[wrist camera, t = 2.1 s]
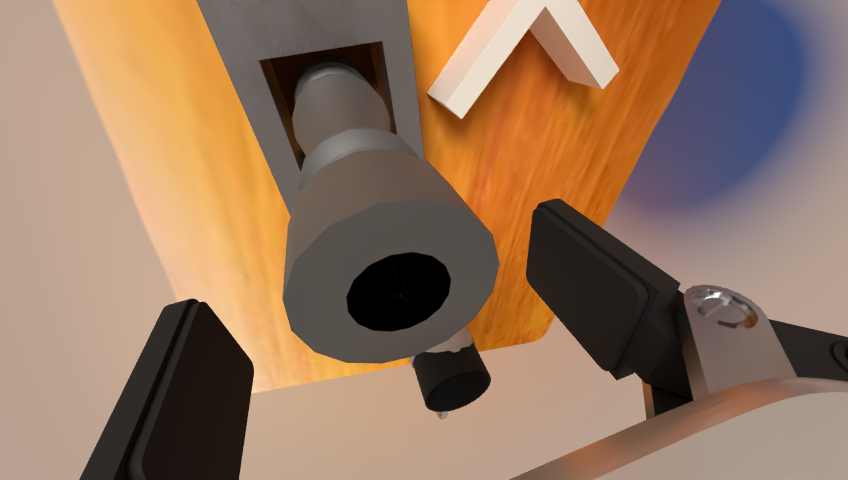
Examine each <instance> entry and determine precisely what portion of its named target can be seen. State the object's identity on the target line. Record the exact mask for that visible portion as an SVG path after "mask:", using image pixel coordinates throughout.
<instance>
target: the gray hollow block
mask: <svg viewBox="0 0 848 480" xmlns="http://www.w3.org/2000/svg"><path fill="white" fill-rule="evenodd" d="M196 1H197V3H198V5H199V7H200V10H201V12H202V14H203V17H204V19H205V21H206V23H207V26H208V28H209V30H210V33H211V35H212V37H213V39H214V42H215V44H216V46H217V49H218V51H219V53H220V55H221V58H222V60H223V62H224V65H225V67H226V69H227V72H228V74H229V76H230V78H231V81H232V83H233V85H234V88H235V90H236V92H237V94H238V97H239V99H240V101H241V104H242V106H243V108H244V110H245V113H246V115H247V117H248V120H249V122H250V124H251V126H252V129H253V131H254V133H255V136H256V138H257V140H258V143H259V145H260V147H261V149H262V152H263V154H264V156H265V159H266V161H267V163H268V165H269V168H270V170H271V172H272V175H273V177H274V179H275V181H276V184H277V186H278V188H279V191H280V193H281V195H282V197H283V200H284V202H285V204H286V207H287V209H288V211H289V213H290V216H291V214H292V211H293V207H294V204H295V200H296V197H297V194H298V193H299V190H298V181H299V177H300V174H301V170H302V167H303V163H304V160H305V157H306V155H305V154H304V152H303V150H302V149H301V147H300V145H299V144H298V142H297V141H296V139H295V133H294V128H293V122H292V119H291V117H290V114H289V111H288V108H287V105H286V103H285V100H284V97H283V94H282V91H281V88H280V86H279V83H278V80H277V77H276V74H275V72H274V69H273V66H272V63H271V60H270V58H276V57H283V56H289V55H296V54H302V53H308V52H315V51H321V50H327V49H334V48H340V47H346V46H353V45H359V44H366V43H370V48H371V53H372V59H373V64H374V70H375V76H376V81H377V87H378V92H379V95H380V97H381V98H382V99H383V100H384V103H385V106H386V108H387V111H388V113H389V116H390V132H391V133H393V134H396V135H398V136H400V137H401V138H402V139H403V140H404V141H405V142H406V143H407V144H408V145H409V146H410V147H411V148H412V149H413V150H414V151H415V152H416V154H417V155H418V157H419V158H420V159H422V160H424V151H423V142H422V133H421V124H420V115H419V106H418V97H417V88H416V79H415V70H414V61H413V52H412V43H411V34H410V25H409V16H408V7H407V0H196Z"/></svg>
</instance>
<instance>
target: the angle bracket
mask: <svg viewBox="0 0 848 480" xmlns="http://www.w3.org/2000/svg"><path fill="white" fill-rule="evenodd" d="M528 29H529V30H530V31H531V32H532V34H533V35H534V36H535V38H536V39H537V40H538V42H539V43H540V44H541V46H542V47H543V48H544V50H545V51H546V52H547V54H548V55H549V56H550V57H551V59H552V60H553V61H554V63H555V64H556V65H557V67H558V68H559V69H560V71H561V72H562V73H563V75H564V76H565V77H566V78H567V80H568V81H572V82H576V83H579V84H583V85H587V86H591V87H595V88H598V89H602V90H603V89H604V88H605V86H606V85H607V84H608V83H609V82H610V81H611V80H612V78H613V77H614V76H615V75H616V74H617V73H618V72H619V68H618V67H617V65H616V63H615V62H614V60H613V58H612V57H611V55H610V53H609V52H608V50H607V49H606V47H605V45H604V44H603V42H602V40H601V39H600V37H599V35H598V34H597V32H596V30H595V29H594V27H593V25H592V24H591V22H590V20H589V19H588V17H587V15H586V14H585V12H584V11H583V9H582V7H581V6H580V4H579V2H578V1H577V0H489V2H488V3H487V5H486V6H485V8H484V9H483V11H482V12H481V14H480V15H479V17H478V18H477V20H476V21H475V23H474V24H473V25H472V27H471V28H470V30H469V31H468V33H467V34H466V36H465V37H464V39H463V40H462V42H461V43H460V45H459V46H458V48H457V49H456V51H455V52H454V53H453V55H452V56H451V58H450V59H449V61H448V62H447V64H446V65H445V67H444V68H443V70H442V71H441V73H440V74H439V76H438V77H437V79H436V80H435V81H434V83H433V84H432V86H431V87H430V89H429V90H428V92H427V94H429V95H430V96H431V97H432V98H433V99H435V100H436V101H437V102H438V103H439V104H440V105H442V106H443V107H444V108H446V109H447V110H449V111H450V112H452V113H453V114H455V115H456V116H458V117H459V118H460V119H462V118H463V117H464V115H465V114H466V113H467V111H468V110H469V109H470V107H471V106H472V105H473V103H474V102H475V101H476V99H477V98H478V96H479V95H480V94H481V92H482V91H483V90H484V88H485V87H486V86H487V84H488V83H489V82H490V80H491V79H492V78H493V76H494V75H495V73H496V72H497V71H498V69H499V68H500V67H501V65H502V64H503V63H504V61H505V60H506V59H507V57H508V56H509V55H510V53H511V52H512V50H513V49H514V48H515V46H516V45H517V44H518V42H519V41H520V40H521V38H522V37H523V36H524V34H525V33H526V31H527V30H528Z"/></svg>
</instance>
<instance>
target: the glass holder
mask: <svg viewBox="0 0 848 480" xmlns="http://www.w3.org/2000/svg"><path fill="white" fill-rule="evenodd" d="M409 358H410V361H411V365H412V367H413V368H414V369H415V372H416V375H417V379H418V382H419V385H420V388H421V392H422V395H423V398H424V401H425V404H426V407H427V408H428V409H430V410H432V411H435V412H436V414H437V415H438V417H439V418H440V419H444V418H446V417H447V415H448V411H451V410H455V409H458V408H461V407H463V406H466V405H467V404H470V403H471V402H473V401H474V400H476V399H477V398H479V397H480V396H481V395H482V394H483V393H484V392H485V391H486V390H487V388H488V387H489V385H490V382H491V377H490V375H489V373H488V371H487V369H486V367H485V365H484V363H483V361H482V359H481V357H480V355H479V353H478V351H477V349H476V347H475V342H474V340H473V338H472V336H471V334H470V332H469V330H468V328H467V326H465V327H463V328H462V329H461V330H460V331H458V332H457V333H456V334H455V335H454V336H452V337H451V338H450V339H449V340H447V341H445V342H443V343H441V344H439V345H437V346H435V347H433V348H431V349H429V350H427V351H425V352H422V353H420V354H418V355H416V356H412V357H409Z"/></svg>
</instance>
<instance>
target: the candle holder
mask: <svg viewBox="0 0 848 480" xmlns="http://www.w3.org/2000/svg"><path fill="white" fill-rule="evenodd" d="M294 99H295V108H294V112H293V116H292V122H293V128H294V133H295V139H296V141H297V142H298V144H299V145H300V147H301V149H302V150H303V152H304V154H305V155H306V157H305V160H304V163H303V167H302V170H301V174H300V177H299V181H298V190H299V193H298V194H297V197H296V200H295V204H294V207H293V211H292V214H291V218H290V221H289V225H288V233H287V247H286V260H285V273H284V287H283V302H284V306H285V309H286V313H287V316H288V320H289V324H290V327H291V331H293V332H294V333H295V334H296V335H297V336H298V337H299V338H300V339H301V340H302V341H303V342H305V343H306V344H307V345H308V346H309V347H310V348H311V349H312V350H313V351H314V352H316V353H319V354H322V355H325V356H328V357H331V358H334V359H337V360H340V361H343V362H346V363H386V362H390V361H394V360H399V359H403V358H407V357H412V356H416V355H418V354H420V353H422V352H425V351H427V350H429V349H431V348H433V347H435V346H437V345H439V344H441V343H443V342H445V341H447V340H449V339H450V338H451V337H452V336H454V335H455V334H456V333H457V332H458V331H460V330H461V329H462V328H463V327H465V326H466V325H467V324H468V323H470V322H471V321H472V320H473V319H474V318H475V317H476V315H477V314H478V312H479V311H480V309H481V308H482V307H483V305H484V304H485V302H486V301H487V299H488V298H489V297H490V295H491V294H492V291H493V287H494V283H495V280H496V276H497V272H498V268H499V260H498V256H497V252H496V247H495V243H494V239H493V235H492V234H491V233H490V231H489V230H488V229H487V228H486V227H485V225H484V224H483V223H482V222H481V221H480V220H479V218H478V217H477V216H476V215H475V214H474V212H473V211H472V210H471V209H470V208H469V206H468V205H467V204H466V203H465V202H464V200H463V199H462V198H461V197H460V196H459V195H458V193H457V192H456V191H455V190H454V189H453V187H452V186H451V185H450V184H449V183H448V182H447V181H446V180H445V179H444V178H443V177H442V176H441V175H440V173H439V172H438V171H437V170H436V169H435V168H434V167H433V166H432V165H431V164H430V163H429V162H428V161H425V160H422V159H420V158H419V157H418V155H417V154H416V152H415V151H414V150H413V149H412V148H411V147H410V146H409V145H408V144H407V143H406V142H405V141H404V140H403V139H402V138H401V137H400V136H398V135H396V134H393V133H391V132H390V116H389V113H388V111H387V108H386V106H385V103H384V100H383V99H382V98H381V97H380V95H379V94H378V93H377V92H376V91H375V90H374V89H373V88H372V87H371V86H370V85H369V84H368V81H367V80H366V79H365V78H364V77H363V76H362V75H361V74H360V72H359V71H358V70H357V69H356V68H355V67H354V66H353V65H352V64H351V63H349V62H347V61H345V60H343V59H341V58H339V57H333V56H321V57H318V58H316V59H314V60H312V61H309V62H308V63H307V64H306V65H305V66H304V68H303V69H302V70H301V71H300V73H299V74H298V78H297V82H296V86H295V93H294Z"/></svg>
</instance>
